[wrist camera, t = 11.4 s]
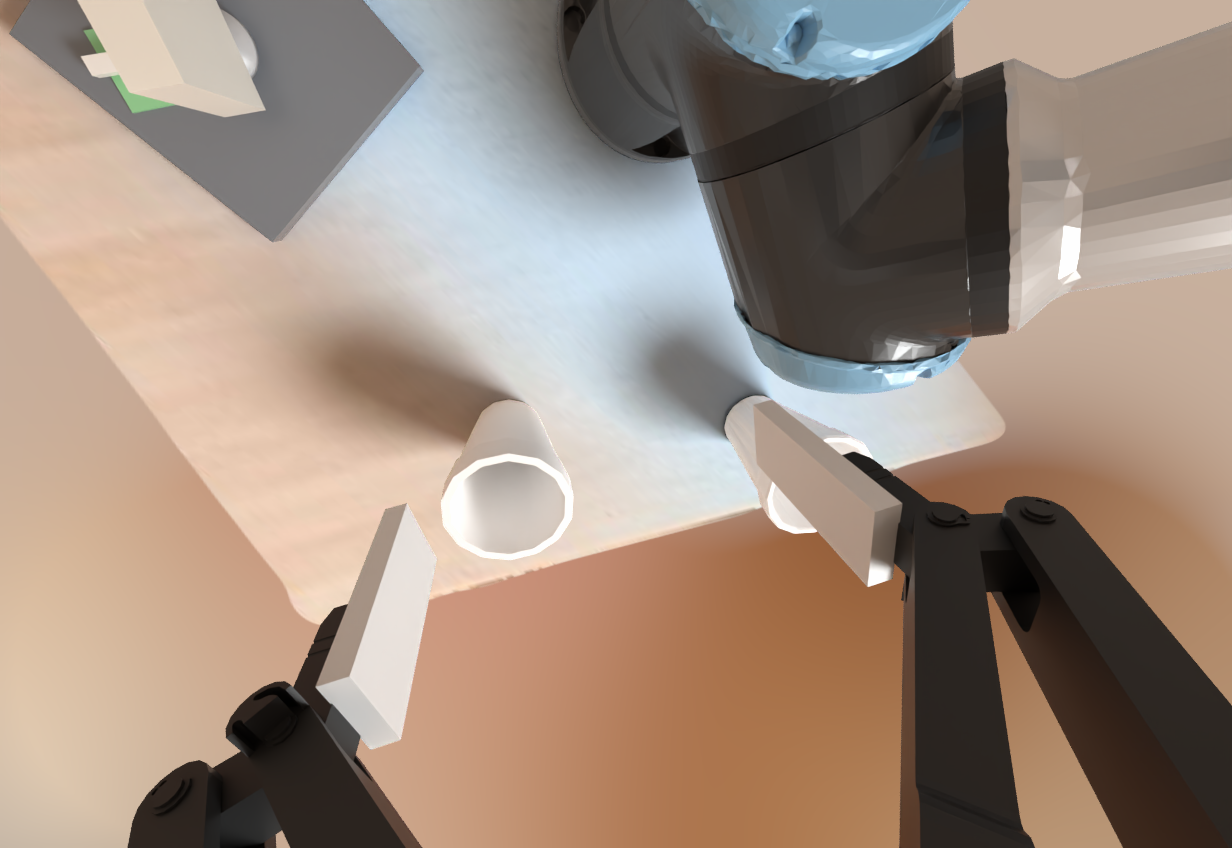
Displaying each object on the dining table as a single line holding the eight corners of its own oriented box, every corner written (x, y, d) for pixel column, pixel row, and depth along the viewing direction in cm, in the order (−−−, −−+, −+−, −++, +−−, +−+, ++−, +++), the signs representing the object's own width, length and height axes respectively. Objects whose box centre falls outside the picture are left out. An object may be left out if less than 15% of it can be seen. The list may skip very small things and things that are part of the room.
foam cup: (456, 383, 42) (436, 455, 30) (558, 384, 44) (575, 451, 32) (462, 472, 46) (446, 564, 34) (555, 469, 48) (569, 555, 36)
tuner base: (188, -198, 25) (167, -223, 23) (423, 70, 31) (419, 64, 30) (33, 41, 27) (5, 32, 26) (281, 240, 34) (271, 242, 33)
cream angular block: (59, -6, 26) (-173, -107, 17) (227, -30, 27) (88, -139, 18) (142, 139, 29) (-16, 116, 20) (289, 113, 30) (198, 80, 21)
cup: (706, 385, 47) (769, 448, 36) (796, 370, 48) (884, 425, 37) (706, 467, 52) (762, 545, 40) (788, 450, 53) (864, 522, 42)
